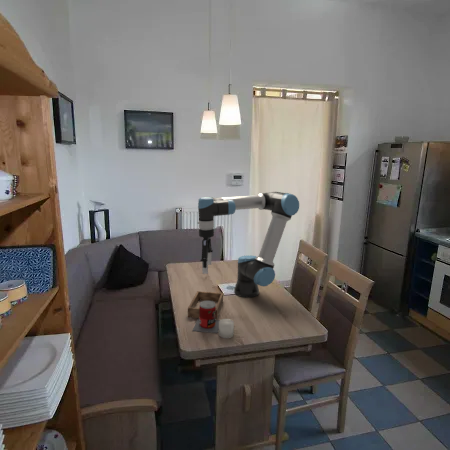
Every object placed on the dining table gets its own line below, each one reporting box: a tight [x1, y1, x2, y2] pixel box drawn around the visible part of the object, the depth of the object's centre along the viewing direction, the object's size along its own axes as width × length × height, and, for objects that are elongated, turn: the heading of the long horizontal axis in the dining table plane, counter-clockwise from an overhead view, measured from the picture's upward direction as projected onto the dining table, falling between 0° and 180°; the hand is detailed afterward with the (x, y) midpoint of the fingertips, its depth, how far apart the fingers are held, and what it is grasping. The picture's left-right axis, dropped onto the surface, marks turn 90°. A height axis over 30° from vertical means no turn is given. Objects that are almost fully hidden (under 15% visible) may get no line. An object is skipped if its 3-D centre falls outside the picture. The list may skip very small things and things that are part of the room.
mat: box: [192, 318, 221, 334], centre depth 155 cm, size 12×12×1 cm
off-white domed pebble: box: [218, 318, 235, 339], centre depth 147 cm, size 7×7×6 cm
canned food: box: [198, 300, 217, 329], centre depth 154 cm, size 8×8×11 cm
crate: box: [187, 291, 224, 320], centre depth 172 cm, size 15×22×5 cm
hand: (207, 268), depth 164 cm, fingers open, 13 cm apart
